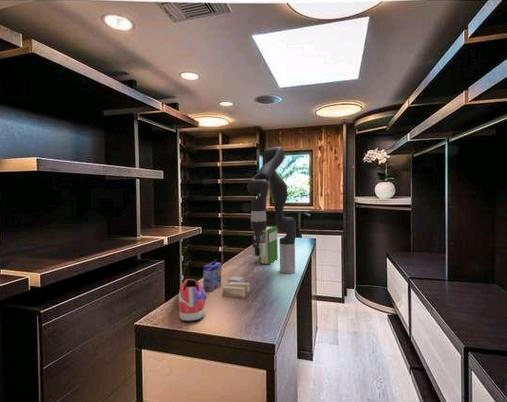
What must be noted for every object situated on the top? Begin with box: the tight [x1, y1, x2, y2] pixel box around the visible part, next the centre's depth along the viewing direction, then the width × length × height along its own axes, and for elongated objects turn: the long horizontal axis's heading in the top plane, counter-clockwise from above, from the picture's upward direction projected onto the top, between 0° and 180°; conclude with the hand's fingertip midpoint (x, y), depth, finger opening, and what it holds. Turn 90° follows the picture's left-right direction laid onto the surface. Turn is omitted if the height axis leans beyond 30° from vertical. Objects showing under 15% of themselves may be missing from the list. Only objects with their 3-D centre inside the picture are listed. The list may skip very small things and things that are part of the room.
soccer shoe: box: [178, 278, 208, 323], centre depth 124 cm, size 12×36×13 cm, turn 12°
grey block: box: [227, 275, 245, 284], centre depth 150 cm, size 6×6×4 cm
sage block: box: [252, 243, 265, 258], centre depth 142 cm, size 5×5×6 cm
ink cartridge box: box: [202, 259, 222, 292], centre depth 147 cm, size 10×6×14 cm, turn 158°
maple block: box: [222, 282, 251, 299], centre depth 139 cm, size 10×10×4 cm
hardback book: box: [258, 225, 279, 266], centre depth 201 cm, size 18×7×24 cm, turn 157°
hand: (259, 254), depth 142 cm, fingers closed on sage block, 5 cm apart
